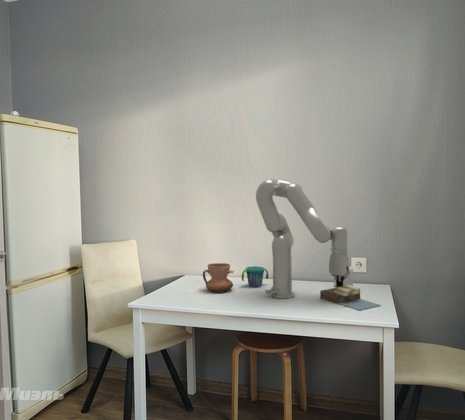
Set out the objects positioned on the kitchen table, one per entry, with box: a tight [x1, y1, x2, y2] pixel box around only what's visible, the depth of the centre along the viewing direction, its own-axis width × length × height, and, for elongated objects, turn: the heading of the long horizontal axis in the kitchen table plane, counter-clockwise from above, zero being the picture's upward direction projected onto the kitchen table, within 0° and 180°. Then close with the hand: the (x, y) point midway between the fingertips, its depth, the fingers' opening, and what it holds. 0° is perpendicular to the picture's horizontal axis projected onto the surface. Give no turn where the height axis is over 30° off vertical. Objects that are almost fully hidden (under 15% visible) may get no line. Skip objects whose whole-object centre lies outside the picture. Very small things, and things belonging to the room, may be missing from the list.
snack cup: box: [241, 265, 269, 288], centre depth 243 cm, size 16×10×10 cm
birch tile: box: [333, 285, 361, 296], centre depth 209 cm, size 10×7×2 cm
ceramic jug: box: [202, 262, 235, 293], centre depth 234 cm, size 18×14×14 cm
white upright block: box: [333, 266, 354, 288], centre depth 236 cm, size 10×4×12 cm, turn 52°
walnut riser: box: [319, 287, 361, 305], centre depth 214 cm, size 15×12×4 cm
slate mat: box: [338, 298, 382, 311], centre depth 203 cm, size 14×13×1 cm
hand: (339, 288), depth 214 cm, fingers closed
